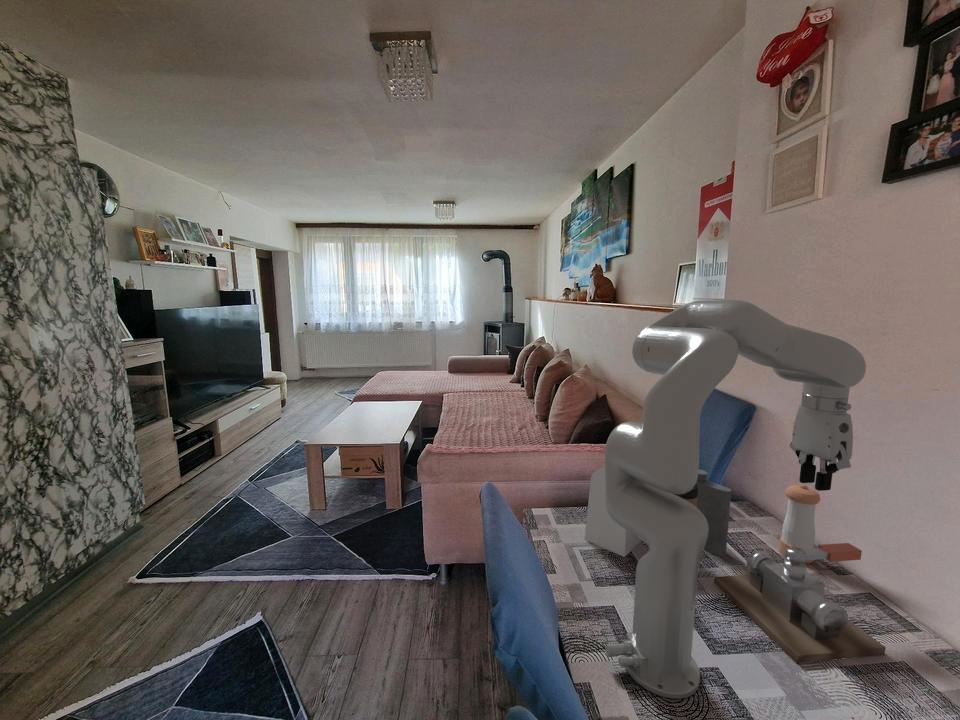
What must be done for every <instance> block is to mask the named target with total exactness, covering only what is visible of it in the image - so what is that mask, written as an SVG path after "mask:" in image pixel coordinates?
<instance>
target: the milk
mask: <svg viewBox="0 0 960 720" xmlns="http://www.w3.org/2000/svg"><path fill="white" fill-rule="evenodd" d="M587 502H588V504H587V513H586V521H585V522H586V523H585V531H584V532H585V533H584V540H585V541H587V542H589V543H591V544H594V545H596V546H597V547H601V548H603V549H606V550H608V551H610V552H612V553H614V554H617V555H618V556H619V555H620V557H623V558H625V557H626V556H627V555H629V553H631V552H632V551H633V550H634V549H635V548H636V547H637V546H638V545H639V544H640V543H641V542H643V541H642V540H641V539H639V538H638V537H637V536H635V535H634V534H632V533H631V532H629V531H627V530H626V529H624V528H623V527H621V526H620V525H618V524H617V523H616V522H615V521H614V520H613V519H612V518H611V517H610V515H609V513H608V511H607V507H606V500H605V464H603V465H602V466H601V467H599V468H598V469H596V470H595V471H594V472H593V473H592V475H591V476H590V481H589V493H588V501H587Z"/></svg>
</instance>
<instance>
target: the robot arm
mask: <svg viewBox="0 0 960 720" xmlns="http://www.w3.org/2000/svg"><path fill="white" fill-rule="evenodd" d="M631 354H632V358H633V360H634V363H635V364H636V365H637V366H638V367H639V368H640V369H641V370H642V371H644V372H647V373H651V374H658V375H662V376H661V377H660V378H659V379H658V380H657V381H656V382H655V383H654V384H653V386H652V387H651V388H650V390H649V391H648V392H647V394H646V396H645V398H644V401H643V406H642V417H641V418H642V419H641V421H642V422H641V423H640V422H637V421H636V422H635V421H627V422H622V423H620V424H618V425H616V426H615V427H614V428H613V430H612V431H611V432H610V434H609V436H608V438H607V441H606V443H605V448H604V456H603V457H604V458H603V459H604V461H603V462H604V464H603V465H605V500H606V507H607V511H608V513H609V515H610V517H611V518H612V519H613V520H614V521H615V522H616V523H617V524H618V525H620V526H621V527H623V528H624V529H626V530H627V531H629V532H631V533H632V534H634V535H635V536H637V537H638V538H639V539H641V540H642V541H641V542H644V543H645V544H646V545H647V546H648V551H647V552H646V553H645V554H644V555H643V556H641V557H640V559H639V560H638V562H637V565H636V568H635V585H634V587H635V588H634V601H633V603H634V604H633V620H632V632H628V633H626V639H625V640H622V641H621V643H616V642H615V643H614V642H613V643H606V644H605V646H604V648H605V654H606V656H607V658H612V657H613V658H617V657H618V658H617V659H618V665H619V666H620V667H621V668H625V670H626V671H627V673H628V674H629V676H630V677H631V678H632V679H633V680H634V681H635V682H636V683H637V684H638V685H640V686H641V687H642V688H644V689H645V690H647V691H648V692H651V693H653V694H654V695H657V696H660V697H663V698H667V699H676V700H679V699H685V698H689V697H691V696H692V695H693V694H695V693H696V692H697V690H699V687H700V684H701V683H700V682H701V672H700V669H699V665H698V664H697V662H696V660H695V658H693V656H692V653H693V652H692V649H693V640H694V638H693V636H694V625H695V611H696V602H697V600H696V599H697V597H696V596H697V587H698V586H697V585H698V578H699V571H700V564H701V559H702V556H703V553H704V551H705V549H704V547H705V544H706V541H707V537H708V531H709V528H708V523H707V520H706V518H705V516H704V515H703V513H702V512H701V511H700V510H699V509H698V508H697V507H695V506H694V505H693V504H691V503H690V502H688V501H686V500H684V499H683V498H681V497H678V496H676V495H674V494H685V493H687V492H689V491H691V490H692V489H693V487H694V486H695V484H696V481H697V478H698V470H699V466H700V427H701V425H700V423H701V415H702V410H703V407H704V404H705V403H706V401H707V399H708V398H709V396H711V394H712V392H713V391H714V390H715V389H716V388H717V386H719V384H720V383H721V382H722V381H724V379H725V378H726V377H727V376H728V375H729V374H730V373H731V371H732V370H733V368H734V366H735V365H736V364H737V363H736V362H737V359H738V356H739V355H740V356H741V357H743V358H745V359H747V360H748V361H749V360H750V362H753V363H756V364H757V365H760V366H765V367H767V368H768V367H769V368H772V370H773V372H774V374H776V375H777V376H778V377H779V378H781V379H784V380H786V381H789V382H790V381H791V382H796V383H797V382H798V383H803V384H802V394H801V402H800V403H801V404H800V405H799V407H798V410H797V412H796V415H795V419H794V422H793V428H792V436H791V442H790V443H789V448H790V449H791V450H792V451H793V452H794V453H795V455H796V456H797V458H798V462H797V463H798V464H799V465H800V472H799V479H798V480H799V483H800V484H813V483H814V490H815V491H817V492H818V491H819V492H820V491H822V492H823V491H830V490H831V488H832V483H833V482H832V480H833V474H836V473H837V472H839V470H843V469H851V468H852V465H851V462H850V460H851V459H852V455H853V447H854V445H853V443H854V434H853V433H854V428H853V420H852V416H851V414H850V413H847V412H848V411H850V410H851V409H852V404H850V403H849V395H850V390H851V389H850V388H853V387H855V386H857V385H858V384H860V382H861V381H862V380H863V379H864V377H865V375H866V370H867V367H866V366H867V365H866V360H865V358H864V356H863V354H862V353H861V352H860V350H858V348H856V347H855V346H853V345H852V344H850V343H848V342H847V341H846V340H843V339H840V338H837V337H834V336H831V335H827V334H825V333H820V332H817V331H812V330H809V329H805V328H803V327H799V326H796V325H791V324H787V323H786V322H783V321H782V320H780V319H778V318H777V317H775V316H774V315H772V314H770V313H769V312H767V311H766V310H764V309H762V308H760V307H759V306H757V305H755V304H754V303H752V302H749V301H745V300H740V299H721V300H719V299H718V300H715V299H714V300H695V301H692V302H689V303H685V304H684V305H682V306H679V307H678V308H676V309H674V310H672V311H670V312H668V313H667V314H665V315H664V316H662V317H661V318H658V319H657V320H656V321H653V322H652V323H650V324H648V325H646V326H645V327H644V328H643V329H642V330H641V331H640V332H639V333H638V334H637V335H636V337H635V339H634V342H633V344H632V353H631ZM816 457H817V458H819V471H817V465H816V464H814V463H815V459H816Z"/></svg>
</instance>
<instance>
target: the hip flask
mask: <svg viewBox="0 0 960 720" xmlns="http://www.w3.org/2000/svg"><path fill="white" fill-rule="evenodd" d="M707 477H708V472H707V471H706V470H703V469H699V470H698V478H697V481H696V484H697V485H698V499H697V508H698V509H699V510H700V511H701V512H702V513H703V515H704V516H705V518H706V520H707V523H708V528H709V531H708V537H707V541H706V544H705V547H704V551H705V550H706V551H708V552H710V553H712V554H714V555H717V556H721V557H724V556H726V554H727V546H728V535H729V532H728V531H729V521H730V512H731V510H730V509H731V498H732V489H731V488H730V487H727V486H723V485H721V484H718V483H715V482H712V481H710V480H707Z"/></svg>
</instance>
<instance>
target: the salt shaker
mask: <svg viewBox="0 0 960 720" xmlns="http://www.w3.org/2000/svg"><path fill="white" fill-rule="evenodd" d="M785 494H786V497H787V498H788V500H787V509H786V510H787V511H786V515H785V518H784V520H783V524H782V532H781V533H782V534H781V536H780V538H779V545H778V551H779V553H780V555H782V556H783V557H784V558H786V549H787V547H796V548H799V549H808V548H816V546H815V545H814V544H815V539H816V526H815V514H816V512H815V511H816V506H817V505H818V504H819V503H820V502H821V496H820V494H819V492H818V490H816V489H813V488H812V487H808V485H807V484H806V483H800V484H792V485H789V486H788V487H786V489H785ZM814 561H815V560H806V561H805V563H804V564H813V562H814Z"/></svg>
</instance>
